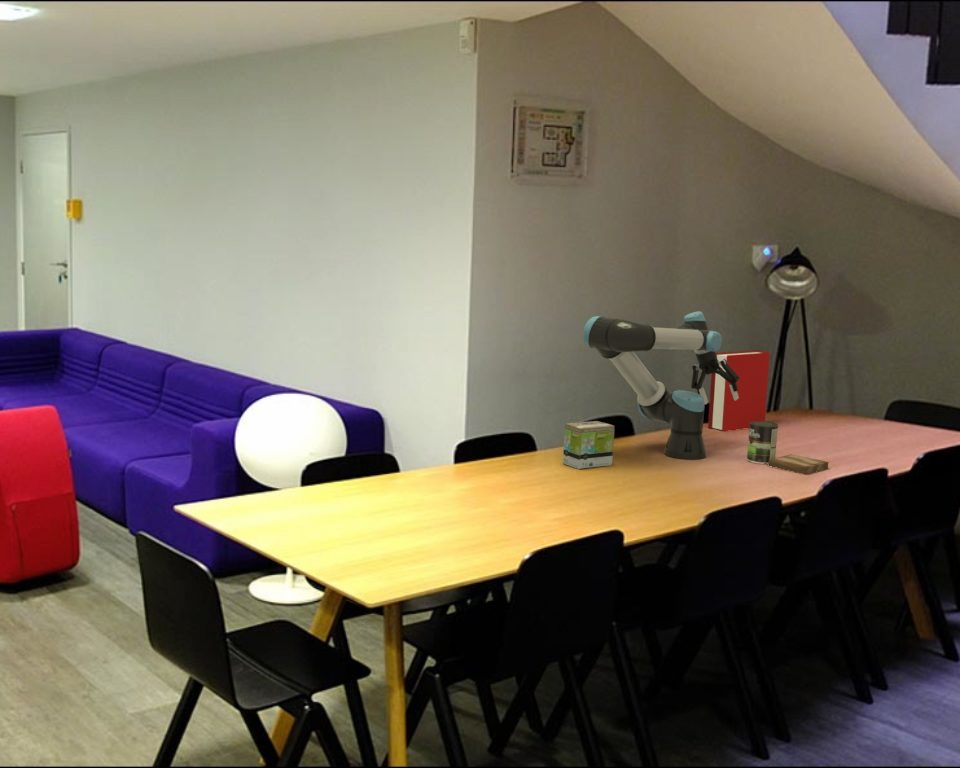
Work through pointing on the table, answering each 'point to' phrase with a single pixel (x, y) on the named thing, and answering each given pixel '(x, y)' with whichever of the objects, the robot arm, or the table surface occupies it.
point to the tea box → (588, 444)
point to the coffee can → (762, 441)
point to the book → (740, 391)
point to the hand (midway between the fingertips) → (721, 401)
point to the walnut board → (798, 464)
